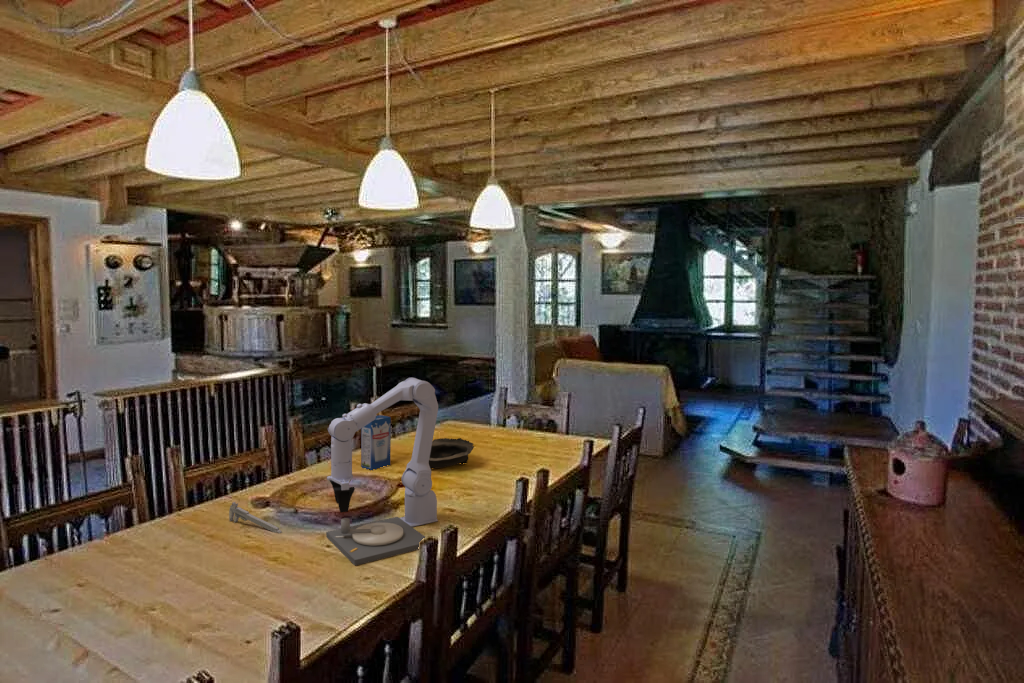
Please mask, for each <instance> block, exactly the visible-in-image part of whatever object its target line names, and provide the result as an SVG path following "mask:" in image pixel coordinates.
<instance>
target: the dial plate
mask: <svg viewBox="0 0 1024 683" xmlns="http://www.w3.org/2000/svg"><path fill="white" fill-rule="evenodd" d="M400 518H401V517H399V516H394V517H390V518H389V517H388V518H386V519H385V518H384V519H379V520H375V521H369V522H366V523H365V522H364V523H361V524H357V525H352V526H351V525H350V529H356V528H358V527H360V526H363V525H366V524H371V523H393V524H396V525H399V526H401V527H402V528H403V536H402V538H401V539H399V540H398V541H396V542H393V543H390V544H386V545H377V546H370V545H362V544H359V543H357V542H355V541H354V540H353V538H352V534H342V533H341V528H338V529H334V530H329V531H326V532H325V533H326V535H325V536H326V538H327V540H328V541H330V542H331V543H332V545H334V546H335V547H336V548H337V549H338V550H339V551H340V552H341V554H343V555H344V557H346V558H347V559H348V560H349V561H350V562H351V563H352V565H353V566H356V567H357V566H359V565H363V564H366V563H367V564H368V563H371V562H375V561H379V560H382V559H386V558H391V557H394V556H398V555H403V554H406V553H409V552H414V551H418V547H419V542H420V541H421V540H422V539H423V538H425V537H426V536H425V535H424V534H422V533H421V532H420V531H418V530H417V529H415V527H411V526H410V525H408V524H407V523H406V522H404V521H403V520H401V519H400Z"/></svg>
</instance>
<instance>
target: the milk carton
mask: <svg viewBox="0 0 1024 683" xmlns="http://www.w3.org/2000/svg"><path fill="white" fill-rule="evenodd" d="M391 424H392V422H391V416H387V415H383V414H379V415H376V418H375V420H374V421H372V422H370V423H369V424H367V425H366V426H364V427H363V428H361V429H360V431H361V432H360V434H361V436H360V438H361V439H360V441H361V444H360V446H361V448H360V449H361V450H360V451H361V454H360V455H361V456H360V460H361V462H360V465H361V467H362V468H361V467H360V468H361V469H364V468H366V469H365V470H368V469H370V470H369V471H371V470H372V471H374V470H373V469H375V470H378V469H377V468H379V469H381V468H380V467H383V466H386V467H388V466H387V465H390V466H391V442H392V440H391V434H392V433H391V431H392V430H391V427H392V426H391ZM383 468H384V467H383Z"/></svg>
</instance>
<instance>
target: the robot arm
mask: <svg viewBox="0 0 1024 683" xmlns="http://www.w3.org/2000/svg"><path fill="white" fill-rule="evenodd" d="M400 401H409V402H410V401H412V402H413V403H414V404H415V405H416V406H417V408H418V409H419V415H418V420H417V427H416V432H415V437H414V442H413V448H412V449H413V450H412V454H411V458H410V461H409V462H408V463H407V464H406V468H405V470H404V471H403V473H402V475H401V483H402V485H403V486H404V487H405V488H404V516H402V517H399V518H400V519H401V520H403V521H404V522H406V523H407V524H408V525H410V526H411V527H413V528H415V527H417V526H423V525H427V524H432V523H434V522H435V523H436V522H438V521H439V520H438V517H437V515H438V514H437V512H438V499H437V495H436V493H435V491H434V490H432V488H433V481H432V480H433V479H432V469H431V468H430V466H429V458H430V452H431V446H432V441H433V440H434V439H433V438H434V435H435V430H436V424H437V419H438V413H439V412H438V411H439V403H438V401H437V396H436V389H435V388H434V386H433V385H432V384H431V383H430V382H428V381H426V380H421V379H418V378H416V377H408V378H406V379H405V380H403V381H401V382H398V384H397V385H396V386H394V387H393V388H391V389H390V390H388V391H387V392H386V393H384V394H383V395H382V396H380V397H378V398H377V399H376V400H374V401H373V402H371V403H366V402H365V403H358V404H357V405H356V408H354V409H353V410H351V411H349V412H348V413H343V414H342V416H341V417H337V418H334V419H333V420H331V422H330V424H329V426H328V427H327V431H328V434H329V435H330V436H331V438H330V440H331V441H330V442H331V444H330V462H331V463H330V465H331V467H330V468H331V469H330V471H331V472H330V474H331V475H329V476H328V475H327V476H326V480H327V481H329V482H330V484H331V486H332V489H333V492H334V493H333V494H334V499H335V503H336V504H337V505H338V511H339V513H347V512H348V511H349V509H350V504H351V503H350V502H351V500H352V497H353V494H354V492H355V489H356V488H355V486H350V483H351V482H352V480H353V478H354V474H353V446H352V445H353V441H352V439H353V438H354V436H355V434H356V432H358V431H359V430H360V431H361V428H363V427H364V426H366V425H367V424H369V423H370V422H372V421H374V420H375V418H376V416H378V415H377V414H378V413H381V412H382V411H384V410H385V409H388V408H389V407H392V406H393V405H395V404H396V403H398V402H400Z"/></svg>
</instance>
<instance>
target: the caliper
mask: <svg viewBox="0 0 1024 683" xmlns="http://www.w3.org/2000/svg"><path fill="white" fill-rule="evenodd" d="M228 511H229V512H228V517H229V518H228V519H229V520H228V521H229V522H233V523H234V524H235V523H237V522H238V521H239V519H241V520H243V521H244V522H246V521H250V522H251V523H253V524H256V525H257V526H260V527H261V528H264V529H265V530H267V531H270V532H271V533H277V534H281V533H283V531H282V530H280V527H277V525H274V524H272V523H270V522H267V521H265V520H263V519H262V518H260V517H257V516H255V515H253V514H252V513H250V511H247V510H245V508H244V509H243V508H242V507H240V506H239V503H236V501H233V502H232V503H231V505H229V510H228Z"/></svg>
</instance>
